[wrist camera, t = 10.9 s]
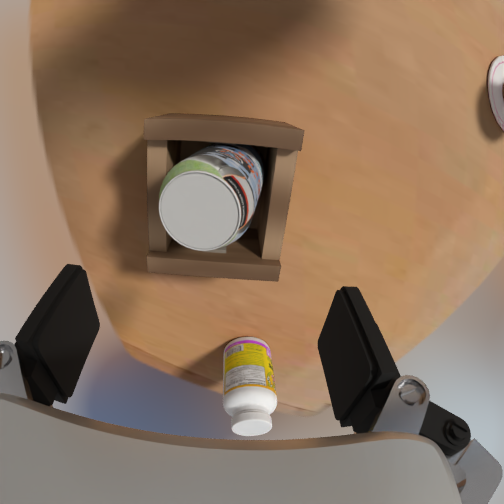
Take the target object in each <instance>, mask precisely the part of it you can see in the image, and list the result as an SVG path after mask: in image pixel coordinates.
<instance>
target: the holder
mask: <svg viewBox="0 0 504 504" xmlns="http://www.w3.org/2000/svg"><path fill="white" fill-rule="evenodd" d="M303 136H304V130H302V129H300V128H297V127H295V126H293V125H290V124H288V123H286V122H279V121H271V120H263V119H254V118H244V117H232V116H219V115H201V114H165V115H160V116H155V117H151V118H146V119H145V121H144V140H148V145H147V207H148V233H149V250H150V251H149V253H148V255H147V268H148V272H152V273H164V274H176V275H189V276H202V277H216V278H230V279H245V280H261V281H278V279H279V274H280V269H281V264H280V261H279V259H280V254H281V249H282V243H283V237H284V232H285V226H286V220H287V215H288V209H289V203H290V197H291V191H292V185H293V179H294V173H295V166H296V160H297V154H298V151H301V149H302V143H303ZM211 143H220V144H233V145H236V144H246V145H254V146H256V148H257V149H258V150H259V151H260V153H261V154H262V156H263V158H264V161H265V166H266V174H265V179H264V182H263V185H262V189H261V192H260V195H259V198H258V201H257V205H256V208H255V211H254V214H253V217H252V220H251V223H250V225H249V226H248V228H247V230H246V231H245V232H244V234H243V235H242V236H241V237H240V238H238V239H237V240H236V241H235V242H233V243H231V244H229V245H227V246H224V247H220V248H217V249H214V250H208V251H198V250H193V249H190V248H187V247H185V246H183V245H181V244H179V243H178V242H177V241H175V240H174V239H173V238H172V237H171V236H170V235H169V234H168V232H167V231H166V230H165V228H164V226H163V224H162V222H161V219H160V214H159V193H160V188H161V185H162V183H163V180H164V178H165V177H166V175H167V174H168V172H169V171H170V170H171V169H172V168H173V167H174V166H175V165H176V164H178V163H179V162H181V161H182V160H184V159H186V158H187V157H189V156H191V155H192V154H194V153H196V152H197V151H199V150H201V149H203V148H204V147H206V146H208V145H210V144H211Z"/></svg>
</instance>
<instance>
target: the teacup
mask: <svg viewBox="0 0 504 504" xmlns="http://www.w3.org/2000/svg"><path fill="white" fill-rule="evenodd" d="M503 83H504V55H503V56H498V57H496V59H495V60H494V61H493V62H492V64H491V67H490V69H489V75H488V92H489V99H490V103H491V108H492V111H493V114H494V116H495V118H496V121H497V123H498V124H499V125H500V127H501V128H502V130H503V131H504V101H503V96H502V86H503Z"/></svg>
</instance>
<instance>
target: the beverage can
mask: <svg viewBox="0 0 504 504" xmlns="http://www.w3.org/2000/svg"><path fill="white" fill-rule="evenodd" d="M265 174H266V166H265V161H264V158H263V156H262V154H261V153H260V151H259V150H258V149H257V148H256V146H254V145H246V144H236V145H233V144H220V143H211V144H210V145H208V146H206V147H204V148H203V149H201V150H199V151H197V152H196V153H194V154H192V155H191V156H189V157H187V158H186V159H184V160H182V161H181V162H179V163H178V164H176V165H175V166H174V167H173V168H172V169H171V170H170V171H169V172H168V174H167V175H166V177H165V178H164V180H163V183H162V185H161V188H160V193H159V214H160V219H161V222H162V224H163V226H164V228H165V230H166V231H167V232H168V234H169V235H170V236H171V237H172V238H173V239H174V240H175V241H177V242H178V243H179V244H181V245H183V246H185V247H187V248H190V249H193V250H198V251H208V250H214V249H217V248H220V247H224V246H227V245H229V244H231V243H233V242H235V241H236V240H237V239H238V238H240V237H241V236H242V235H243V234H244V232H245V231H246V230H247V228H248V226H249V225H250V223H251V220H252V217H253V214H254V211H255V208H256V205H257V201H258V198H259V195H260V192H261V189H262V185H263V182H264V179H265Z"/></svg>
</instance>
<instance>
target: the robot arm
mask: <svg viewBox="0 0 504 504" xmlns="http://www.w3.org/2000/svg"><path fill="white" fill-rule="evenodd" d="M99 327H100V323H99V319H98V316H97V312H96V309H95V305H94V301H93V298H92V294H91V290H90V286H89V282H88V278H87V274H86V271H85V270H83V269H82V267H81V266H80V265H71V264H67V265H66V266H65V267H64V268H63V269H62V271H61V272H60V273H59V275H58V276H57V278H56V279H55V280H54V281H53V283H52V284H51V286H50V287H49V288H48V290H47V291H46V292H45V294H44V295H43V297H42V298H41V299H40V301H39V302H38V304H37V305H36V307H35V308H34V310H33V311H32V313H31V314H30V316H29V317H28V319H27V321H26V322H25V323H24V325H23V327H22V328H21V330H20V332H19V333H18V335H17V336H16V338H15V339H16V343H15V345H14V344H13V343H11V342H9V341H1V342H0V504H488V502H489V500H490V499H491V497H492V495H493V494H494V492H495V490H496V488H497V487H498V485H499V483H500V481H501V478H502V468H501V465H500V464H499V462H498V461H497V460H496V459H495V458H494V457H493V456H492V455H491V454H490V453H489V452H488V451H487V450H486V449H485V448H484V447H483V446H482V445H481V444H480V443H479V442H478V441H477V440H476V439H473V440H471V439H470V437H471V433H470V429H469V426H468V425H467V423H466V422H465V421H464V420H462V419H461V418H459V417H458V416H455V415H454V414H452V413H450V412H448V411H447V410H445V409H443V408H441V407H440V406H438V405H436V404H434V403H433V402H430V401H429V399H430V394H429V390H428V388H427V386H426V384H425V383H424V382H423V381H421V380H420V379H419V378H417V377H414V376H410V375H405V376H400V374H399V372H398V369H397V367H396V365H395V362H394V360H393V358H392V356H391V353H390V351H389V349H388V347H387V345H386V342H385V340H384V338H383V336H382V334H381V332H380V330H379V327H378V325H377V324H376V323H375V321H374V319H373V316H372V314H371V312H370V310H369V308H368V306H367V304H366V302H365V300H364V298H363V296H362V294H361V292H360V290H359V289H358V288H357V287H345V286H343V287H342V288H341V289H340V290H337V291H336V293H335V296H334V299H333V302H332V304H331V307H330V310H329V313H328V315H327V318H326V321H325V323H324V326H323V329H322V331H321V334H320V337H319V339H318V350H319V354H320V358H321V362H322V366H323V370H324V374H325V378H326V382H327V386H328V390H329V394H330V398H331V403H332V407H333V411H334V415H335V418H336V420H340V424H341V427H347V426H352V427H353V431H354V434H350V435H342V436H332V437H321V438H308V439H292V440H225V439H209V438H195V437H186V436H177V435H170V434H163V433H156V432H150V431H144V430H138V429H133V428H128V427H123V426H118V425H114V424H109V423H105V422H101V421H97V420H93V419H89V418H86V417H82V416H79V415H75V414H72V413H68V412H65V411H61V410H59V409H55V408H53V406H52V404H53V402H54V400H56V401H59V402H62V403H65V404H66V402H67V400H68V397H71V396H72V394H73V392H74V389H75V387H76V384H77V381H78V379H79V376H80V374H81V371H82V369H83V366H84V364H85V361H86V359H87V356H88V354H89V351H90V349H91V347H92V344H93V342H94V340H95V338H96V335H97V333H98V331H99Z"/></svg>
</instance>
